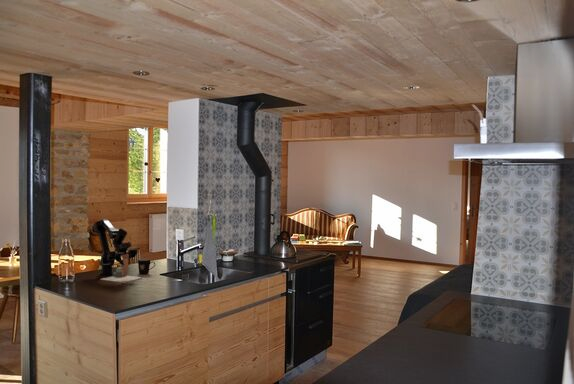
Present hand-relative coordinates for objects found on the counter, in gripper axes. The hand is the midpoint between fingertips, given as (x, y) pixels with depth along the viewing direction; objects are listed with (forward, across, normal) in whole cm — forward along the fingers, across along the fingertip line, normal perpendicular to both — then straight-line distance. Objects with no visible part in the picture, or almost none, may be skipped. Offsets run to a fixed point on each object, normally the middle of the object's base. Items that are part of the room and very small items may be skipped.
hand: (126, 264), depth 302 cm
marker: (+4, 0, +6) cm, 7 cm away
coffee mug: (-3, +22, +19) cm, 29 cm away
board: (+2, +1, +14) cm, 14 cm away
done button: (-5, +3, +18) cm, 19 cm away
